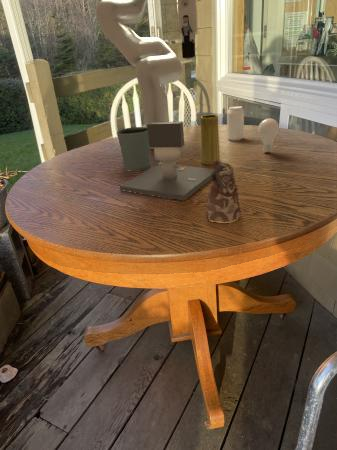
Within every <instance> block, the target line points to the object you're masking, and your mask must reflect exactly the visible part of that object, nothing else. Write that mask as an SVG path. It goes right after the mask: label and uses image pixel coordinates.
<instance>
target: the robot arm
mask: <svg viewBox="0 0 337 450" xmlns="http://www.w3.org/2000/svg"><path fill="white" fill-rule="evenodd" d="M147 3H148V0H100V1H99V2H98V3H97V6H96V8H95V9H96V10H95V11H96V12H95V13H96V19H97V22H98V26H99V27H100V30H101V32H102V33H103V34H104V36H105V37H106V38H107V40H109V41H110V42H111V43H112V45H114V46H115V47H116V48H117V49H118V51H119V52H120V53H121V54H122V55H123V57H124V58H125V60H126V61H127V62H128V63H129V64H130V66H133V67H135V68H134V69H135V77H136V80H137V83H138V84H137V85H138V88H139V91H140V97H141V103H142V111H143V120H144V127H146V128H147V124H148V123H150V122H170V113H169V104H168V103H169V101H168V96H167V93H166V92H165V90H164V88H163V87H162V86H161V85H166V84H171V83H175V82H177V81H179V80H180V79H181V77H182V74H183V66H182V62H181V60H180V59H179V57H178V55H177V54H176V53H175V52H174V51H173V50H172V49H171V48H170V46H169V45H168V44H167V43H166V42H165V41H164V40H163V39H162V38H159V37H156V36H151V37H141V36H139V35H138V34H136V32H135V31H134V30H133V29H132V28H131V27H130V26H127V25H134V24H135V25H136V24H138V23H140V22H141V20H142V19H143V16H144V13H145V9H146V6H147ZM176 7H177V18H178V19H177V21H178V27H179V34H180V36H181V52H182V53H181V55H182V56H181V57H182V59H190V58H191V59H192V58H195V56H196V48H195V47H196V46H195V43H196V42H195V40H194V39H195V37H194V35H198V33H199V32H198V12H197V10H198V9H197V0H176ZM150 150H154V147H150Z"/></svg>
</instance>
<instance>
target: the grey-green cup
mask: <svg viewBox="0 0 337 450" xmlns="http://www.w3.org/2000/svg"><path fill="white" fill-rule="evenodd" d="M116 136H117V139H118V143H119V147H120V153H121V157H122V161H123V168H124V170H125V169H126V170H125V171H127V170H130V171H129V172H138V171H137V170H142V171H145V170H148V169H150V168H151V156H150V154H151V149H150V146H149V138H148V130H147V128H146V127H145V126H134V127H127V128H126V127H125V128H122V129H120V130H117V132H116ZM147 168H148V169H147ZM144 169H145V170H144Z"/></svg>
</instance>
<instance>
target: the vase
mask: <svg viewBox="0 0 337 450" xmlns="http://www.w3.org/2000/svg"><path fill="white" fill-rule="evenodd" d="M200 134H201V135H200V137H201V138H200V139H201V141H200V143H201V160H200V163H201V164H203V165H205V166H206V165H207V166H208V165H209V166H210V165H211V166H213V161H215V160H217V161H218V163H219V164H220V162H221V157H220V137H219V115H217V114H204V115H201V116H200Z"/></svg>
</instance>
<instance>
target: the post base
mask: <svg viewBox="0 0 337 450" xmlns="http://www.w3.org/2000/svg"><path fill="white" fill-rule="evenodd" d="M176 160H177V159H175V160H171V161H159V163H157V165H154V166H153V167H150V168H148V169H146V171H145V170H144V172H142V173H140V174H138V175H136V176H135V177H133V178H131V179H130V180H128V181H126V182H124V183H122V184H120V185H119V191H120V190H125V191H131V192H136V193H142V194H147V195H146V196H148V195H154V196H160V197H159V198H161V197H165V198H164V199H167V198H171V199H170V200H173V199H177V200H176V201H179V200H183V201H182V202H185V201H186V200H187V199H189V198H190V197H191V196H192V195H194V194H195V193H196V192H197V191H199V190H200V189H201V188H203V187H204V186H205V185H206V184H207V183H209V182H210V181H212V177H211V176H212V172H213V171H214V168H206V167H197V166H187V165H180V164H179V163H177V161H176ZM198 189H199V190H198ZM194 192H195V193H194ZM136 193H135V194H136ZM193 193H194V194H193ZM142 194H141V195H142ZM154 196H153V197H154ZM189 196H190V197H189ZM188 197H189V198H188ZM185 199H186V200H185ZM184 200H185V201H184Z"/></svg>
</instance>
